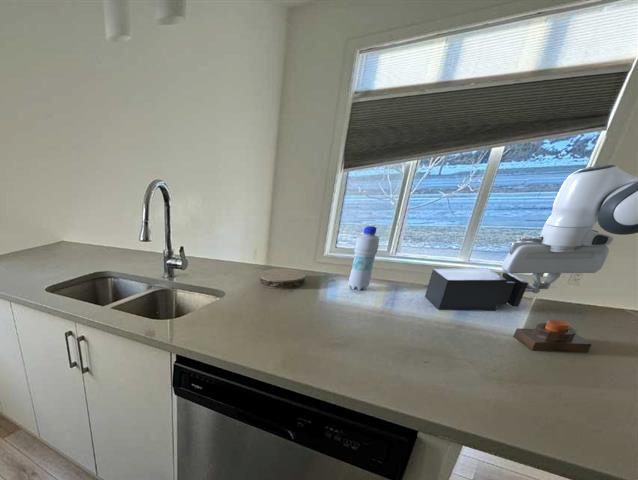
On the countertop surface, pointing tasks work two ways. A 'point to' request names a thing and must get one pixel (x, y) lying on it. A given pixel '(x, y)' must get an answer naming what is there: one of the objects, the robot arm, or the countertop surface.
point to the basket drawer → (515, 290)
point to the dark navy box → (465, 289)
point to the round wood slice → (282, 278)
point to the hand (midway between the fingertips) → (539, 288)
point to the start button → (557, 326)
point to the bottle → (364, 259)
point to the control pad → (551, 340)
